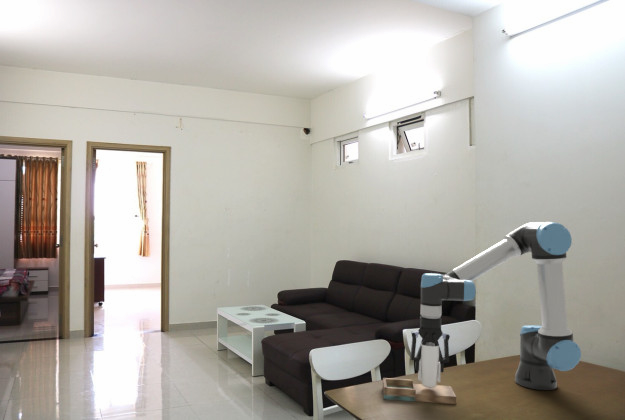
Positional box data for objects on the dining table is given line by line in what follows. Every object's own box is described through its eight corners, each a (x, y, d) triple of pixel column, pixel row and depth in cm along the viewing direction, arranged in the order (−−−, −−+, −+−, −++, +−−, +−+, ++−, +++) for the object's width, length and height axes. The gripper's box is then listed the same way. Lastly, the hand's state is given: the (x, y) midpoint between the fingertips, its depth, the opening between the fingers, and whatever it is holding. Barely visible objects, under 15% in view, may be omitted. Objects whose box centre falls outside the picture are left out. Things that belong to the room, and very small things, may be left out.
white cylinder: (439, 384, 179) (440, 342, 179) (437, 390, 172) (438, 347, 173) (420, 381, 181) (421, 341, 181) (418, 387, 175) (419, 345, 175)
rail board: (450, 392, 181) (450, 382, 181) (456, 403, 170) (456, 392, 170) (382, 388, 184) (382, 377, 184) (383, 399, 173) (384, 387, 173)
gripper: (455, 315, 180) (454, 378, 180) (403, 313, 182) (401, 375, 182) (459, 319, 173) (458, 385, 172) (405, 317, 175) (403, 382, 174)
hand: (429, 380), depth 177 cm, fingers closed on white cylinder, 6 cm apart
